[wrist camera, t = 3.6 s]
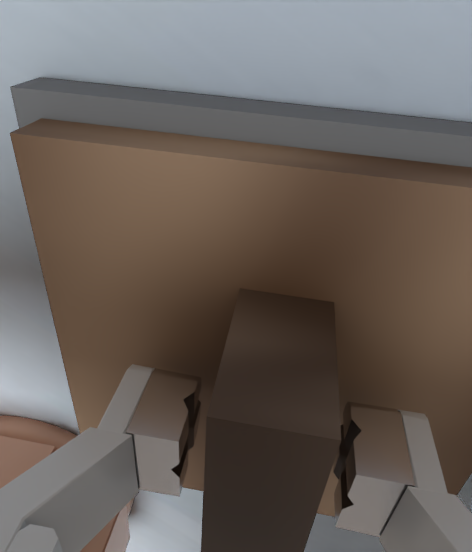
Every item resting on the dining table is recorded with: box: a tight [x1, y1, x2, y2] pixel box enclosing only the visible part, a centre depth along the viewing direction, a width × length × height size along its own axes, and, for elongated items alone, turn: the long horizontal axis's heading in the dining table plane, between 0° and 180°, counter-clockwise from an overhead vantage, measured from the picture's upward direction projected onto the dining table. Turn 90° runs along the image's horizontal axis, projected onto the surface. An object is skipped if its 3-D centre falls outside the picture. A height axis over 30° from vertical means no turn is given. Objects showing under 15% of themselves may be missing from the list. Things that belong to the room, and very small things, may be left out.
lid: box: [10, 118, 472, 552], centre depth 9 cm, size 10×10×4 cm
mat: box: [10, 78, 472, 167], centre depth 11 cm, size 11×11×1 cm
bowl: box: [0, 415, 134, 552], centre depth 16 cm, size 8×8×5 cm
